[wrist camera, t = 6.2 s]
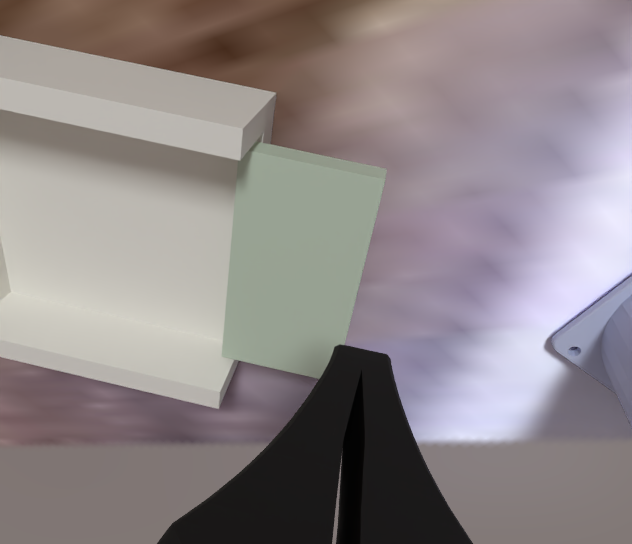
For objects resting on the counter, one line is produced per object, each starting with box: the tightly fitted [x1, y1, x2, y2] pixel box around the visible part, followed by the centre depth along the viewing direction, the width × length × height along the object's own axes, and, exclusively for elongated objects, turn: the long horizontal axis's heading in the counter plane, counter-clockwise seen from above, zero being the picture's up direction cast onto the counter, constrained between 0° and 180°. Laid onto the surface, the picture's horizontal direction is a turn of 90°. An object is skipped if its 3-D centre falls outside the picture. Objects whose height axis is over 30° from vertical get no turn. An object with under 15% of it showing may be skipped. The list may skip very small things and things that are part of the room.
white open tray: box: [0, 35, 276, 409], centre depth 21 cm, size 12×12×4 cm
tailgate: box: [222, 141, 387, 379], centre depth 21 cm, size 2×9×5 cm
